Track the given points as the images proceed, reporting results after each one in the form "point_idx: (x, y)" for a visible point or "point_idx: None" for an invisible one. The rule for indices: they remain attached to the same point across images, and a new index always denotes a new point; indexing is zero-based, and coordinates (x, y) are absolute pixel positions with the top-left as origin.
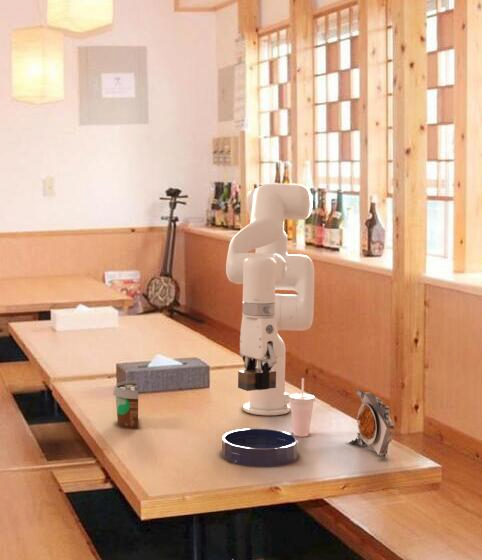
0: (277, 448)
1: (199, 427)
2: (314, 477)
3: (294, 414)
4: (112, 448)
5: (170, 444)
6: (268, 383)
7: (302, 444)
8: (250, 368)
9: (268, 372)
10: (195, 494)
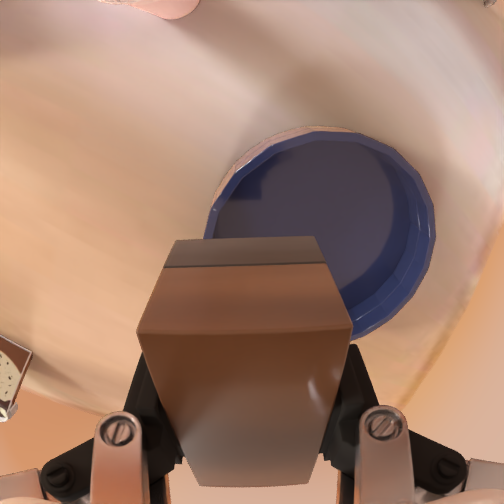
0: (428, 264)
1: (22, 247)
2: (491, 216)
3: (163, 5)
4: None
5: None
6: None
7: (278, 49)
8: (174, 454)
9: (384, 417)
10: (408, 401)
